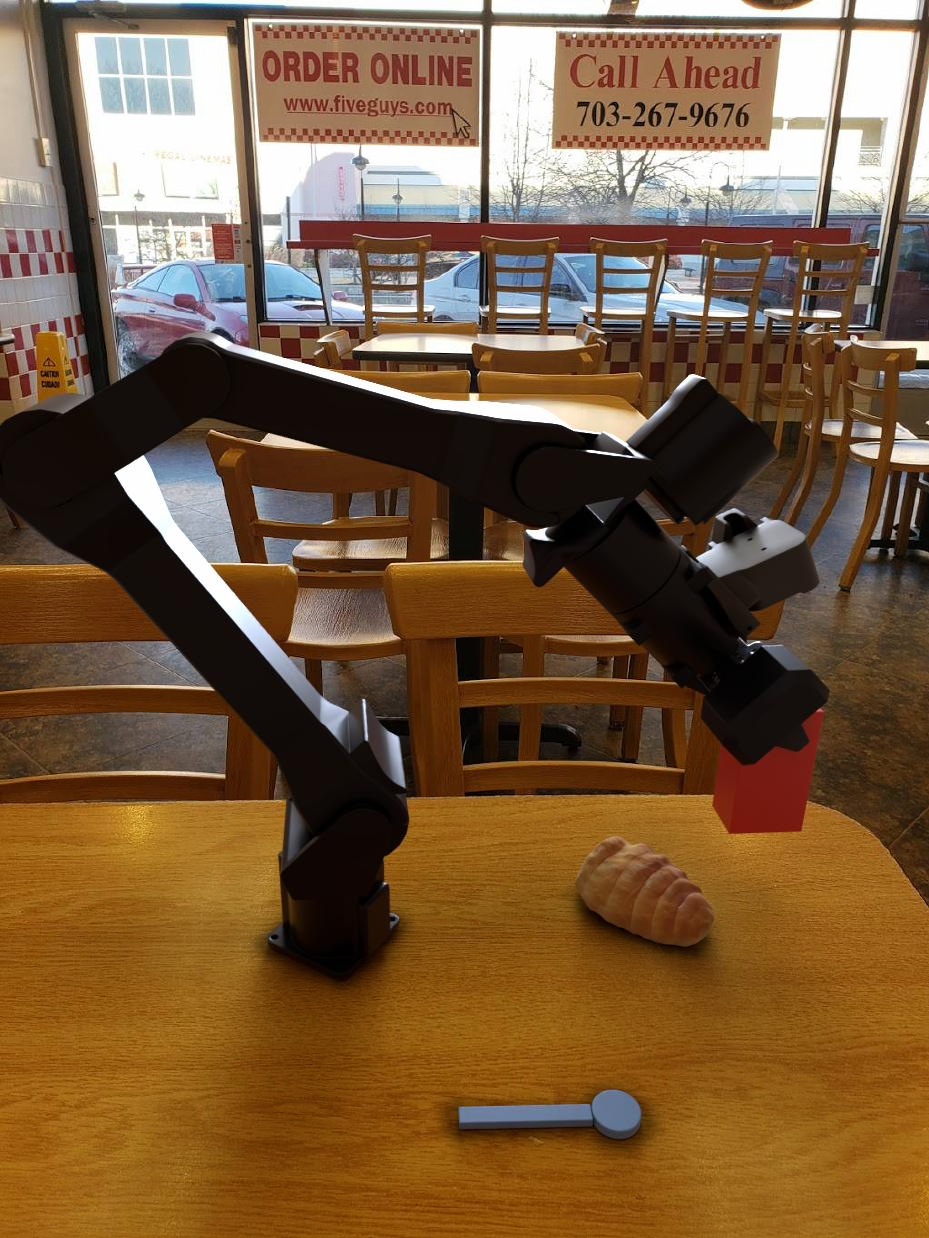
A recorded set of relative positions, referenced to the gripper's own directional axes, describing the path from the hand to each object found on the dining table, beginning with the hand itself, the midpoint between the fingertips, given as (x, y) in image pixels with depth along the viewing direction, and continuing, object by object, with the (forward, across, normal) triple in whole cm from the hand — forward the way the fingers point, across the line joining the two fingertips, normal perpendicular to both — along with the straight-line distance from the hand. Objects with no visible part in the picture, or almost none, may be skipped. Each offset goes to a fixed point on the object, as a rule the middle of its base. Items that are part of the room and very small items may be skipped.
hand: (789, 732), depth 62 cm
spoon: (-4, -16, +23) cm, 28 cm away
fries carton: (+4, 0, +6) cm, 7 cm away
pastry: (+4, +1, +16) cm, 16 cm away
